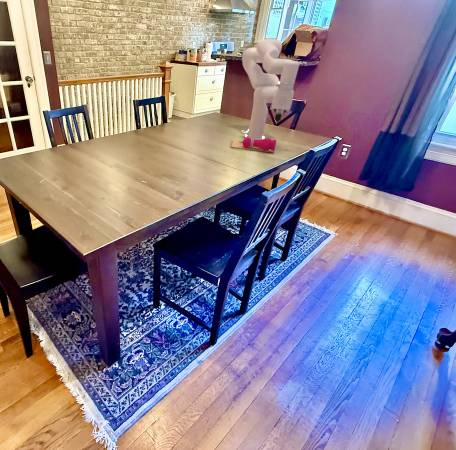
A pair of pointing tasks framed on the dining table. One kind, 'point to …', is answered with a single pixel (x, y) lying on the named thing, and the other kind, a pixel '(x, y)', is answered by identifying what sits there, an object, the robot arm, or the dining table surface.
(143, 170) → the dining table surface
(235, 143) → the cork mat
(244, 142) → the pepper mill
